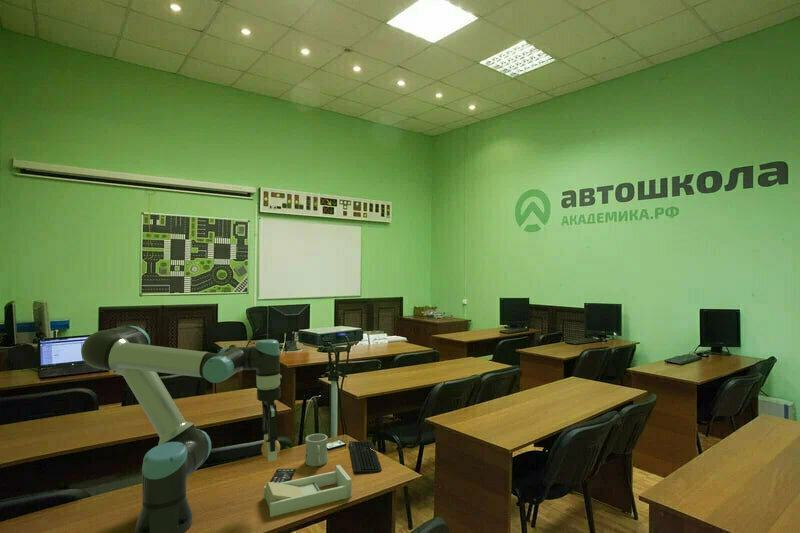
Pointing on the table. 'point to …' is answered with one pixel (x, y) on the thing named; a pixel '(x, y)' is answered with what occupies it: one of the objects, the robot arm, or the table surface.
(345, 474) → the lane
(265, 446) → the ball
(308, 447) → the mug
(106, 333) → the robot arm
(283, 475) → the smartphone
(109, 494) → the table surface
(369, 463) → the keyboard
